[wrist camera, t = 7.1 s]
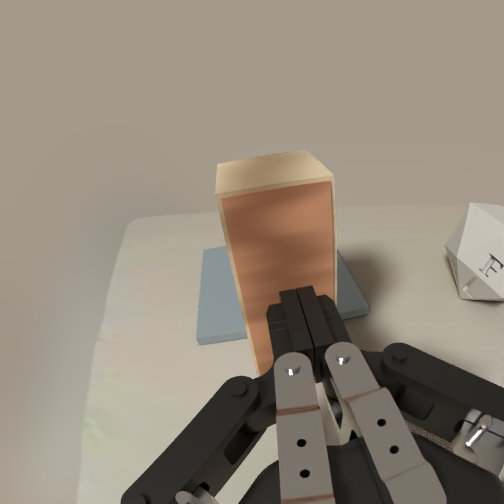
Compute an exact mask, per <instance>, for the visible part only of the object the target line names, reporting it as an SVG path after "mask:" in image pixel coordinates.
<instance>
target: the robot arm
mask: <svg viewBox="0 0 504 504" xmlns="http://www.w3.org/2000/svg"><path fill="white" fill-rule="evenodd" d="M279 299H280V303H278V304H272V305H269V307H268V310H267V312H266V317H267V323H268V329H269V334H270V340H271V346H272V351H273V357H274V361H273V365H272V367H271V368H270V369H269V370H268V371H267V372H266V373H265V374H263V375H261V376H259V377H257V378H255V379H251V378H249V377H246V376H236V377H233V378H230V379H229V380H227V381H226V382H225V383H224V384H223V385H222V386H221V387H220V389H219V390H218V391H217V392H216V393H215V394H214V396H213V397H212V398H211V399H210V400H209V401H208V403H207V404H206V405H205V406H204V407H203V408H202V410H201V411H200V412H199V413H198V414H197V415H196V416H195V417H194V419H193V420H192V421H191V422H190V423H189V424H188V425H187V427H186V428H185V429H184V430H183V431H182V432H181V433H180V434H179V435H178V437H177V438H176V439H175V440H174V441H173V442H172V443H171V444H170V445H169V446H168V447H167V449H166V450H165V451H164V452H163V453H162V454H161V455H160V456H159V457H158V458H157V459H156V460H155V461H154V462H153V464H152V465H151V466H150V467H149V468H148V469H147V470H146V471H145V472H144V473H143V474H142V475H141V476H140V477H139V478H138V479H137V480H136V481H135V482H134V483H133V484H132V485H131V486H130V487H129V488H128V489H127V490H126V491H125V493H124V494H123V496H122V498H121V504H219V503H218V501H217V500H216V499H215V498H214V497H215V496H216V495H217V493H218V492H219V491H220V490H221V489H222V487H223V486H224V485H225V484H226V482H227V481H228V480H229V479H230V477H231V476H232V475H233V474H234V472H235V471H236V470H237V468H238V467H239V466H240V465H241V463H242V462H243V461H244V459H245V458H246V457H247V455H248V454H249V453H250V451H251V450H252V449H253V447H254V446H255V445H256V443H257V442H258V441H259V439H260V438H261V436H262V435H263V434H264V432H265V431H266V429H267V427H269V426H271V425H273V424H275V423H276V424H277V440H278V456H279V460H277V461H275V462H274V463H272V464H271V465H269V466H268V467H267V468H265V469H264V470H263V471H262V472H261V473H260V474H259V475H258V477H257V478H256V479H255V481H254V482H253V484H252V485H251V487H250V488H249V489H248V491H247V492H246V494H245V495H244V496H243V498H242V499H241V501H240V502H239V503H238V504H504V486H503V484H502V482H501V480H500V479H499V478H498V476H499V474H500V472H501V469H502V467H503V465H504V388H503V387H501V386H498V385H496V384H494V383H491V382H489V381H487V380H485V379H482V378H480V377H478V376H476V375H474V374H471V373H469V372H467V371H465V370H462V369H460V368H458V367H456V366H454V365H451V364H449V363H447V362H445V361H442V360H440V359H438V358H436V357H434V356H431V355H429V354H427V353H425V352H423V351H421V350H418V349H416V348H414V347H412V346H410V345H407V344H405V343H393V344H390V345H389V346H387V347H386V348H385V349H384V351H383V352H367V351H363V350H360V349H359V348H358V347H357V346H355V345H354V344H353V343H352V342H351V340H350V338H349V335H348V333H347V331H346V328H345V326H344V324H343V321H342V319H341V317H340V314H339V312H338V311H337V308H336V305H335V303H334V301H333V300H332V299H331V298H330V297H328V296H327V295H326V294H324V295H319V296H316V293H315V291H314V288H313V286H312V285H310V286H305V287H300V288H296V290H295V289H290V290H284V291H279ZM314 378H315V381H316V383H319V382H322V383H323V387H324V397H325V400H326V403H327V406H328V408H329V411H330V414H331V416H332V419H333V421H334V424H335V427H336V429H337V432H338V436H339V443H340V445H339V446H326V441H325V434H324V428H323V422H322V416H321V410H320V407H319V406H318V401H317V395H316V389H315V383H314ZM404 419H405V420H407V421H409V422H411V423H413V424H415V425H417V426H418V427H420V428H422V429H424V430H426V431H428V432H430V433H432V434H434V435H436V436H438V437H440V438H442V439H444V440H446V441H449V442H451V443H452V450H453V452H454V453H452V452H451V451H449V450H447V449H445V448H443V447H441V446H439V445H437V444H436V443H434V442H432V441H430V440H428V439H427V438H425V437H423V436H421V435H419V434H416V433H414V432H410V430H409V428H408V426H407V424H406V422H405V420H404Z"/></svg>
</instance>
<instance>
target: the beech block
mask: <svg viewBox="0 0 504 504" xmlns="http://www.w3.org/2000/svg"><path fill="white" fill-rule="evenodd" d="M215 196H216V201H217V206H218V210H219V215H220V219H221V224H222V228H223V233H224V237H225V242H226V246H227V251H228V255H229V260H230V264H231V269H232V273H233V277H234V282H235V286H236V290H237V295H238V299H239V303H240V308H241V312H242V316H243V320H244V324H245V329H246V333H247V337H248V341H249V345H250V349H251V353H252V358H253V362H254V366H255V370H256V374H257V377H259V376H261V375H263V374H265V373H266V372H267V371H268V370H269V369H270V368H271V367H272V365H273V361H274V357H273V351H272V346H271V340H270V334H269V329H268V323H267V317H266V312H267V310H268V307H269V305H272V304H278V303H280V299H279V291H284V290H290V289H295V290H296V288H300V287H305V286H310V285H312V286H313V288H314V291H315V293H316V296H319V295H324V294H326V295H327V296H328V297H330V298H331V299H332V300H333V301H334V303H335V305H336V308H337V241H336V210H335V189H334V175H333V174H332V173H331V172H330V171H329V170H328V169H326V168H325V167H324V166H323V165H322V164H321V163H320V162H319V161H318V160H316V159H315V158H314V157H313V156H312V155H311V154H310V153H309V152H308V151H306V150H301V151H293V152H286V153H279V154H272V155H266V156H260V157H254V158H248V159H242V160H236V161H231V162H225V163H220V164H217V176H216V189H215ZM314 383H316V381H315V378H314Z"/></svg>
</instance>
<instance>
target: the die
mask: <svg viewBox="0 0 504 504" xmlns="http://www.w3.org/2000/svg"><path fill="white" fill-rule="evenodd" d="M445 248H446V251H447V254H448V257H449V261H450V264H451V267H452V271H453V274H454V278H455V281H456V285H457V289H458V293H459V297H460V299H469V300H488V301H504V206H500V205H491V204H481V203H469V205H468V207H467V209H466V211H465V212H464V214H463V216H462V218H461V219H460V221H459V223H458V224H457V226H456V228H455V229H454V231H453V233H452V234H451V236H450V238H449V239H448V241H447V242H446V244H445Z"/></svg>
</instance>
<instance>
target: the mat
mask: <svg viewBox="0 0 504 504" xmlns="http://www.w3.org/2000/svg"><path fill="white" fill-rule="evenodd" d="M337 311H338V312H339V314H340V317H341V319H342V320H344V319H348V318H353V317H357V316H361V315H366V314H368V312H369V306H368V304H367V302H366V300H365V298H364V297H363V295H362V293H361V291H360V290H359V288H358V286H357V284H356V283H355V281H354V279H353V277H352V276H351V274H350V272H349V270H348V269H347V267H346V265H345V264H344V262H343V260H342V259H341V257H340V255H339V253H338V252H337ZM244 338H248V337H247V333H246V329H245V324H244V320H243V316H242V312H241V308H240V303H239V299H238V295H237V290H236V286H235V282H234V277H233V273H232V269H231V264H230V260H229V255H228V251H227V246H223V247H218V248H212V249H207V250H204V253H203V264H202V275H201V286H200V298H199V311H198V324H197V341H198V343H199V345H203V344H211V343H218V342H225V341H231V340H238V339H244Z"/></svg>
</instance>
